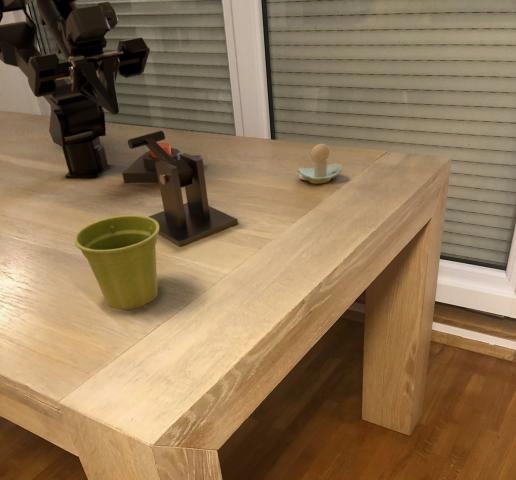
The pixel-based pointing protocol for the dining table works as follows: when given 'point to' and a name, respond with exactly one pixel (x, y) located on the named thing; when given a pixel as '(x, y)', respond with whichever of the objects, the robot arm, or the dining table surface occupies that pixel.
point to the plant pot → (122, 258)
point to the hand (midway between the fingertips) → (116, 112)
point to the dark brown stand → (187, 205)
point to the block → (147, 168)
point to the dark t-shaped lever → (163, 155)
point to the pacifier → (320, 166)
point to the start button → (165, 146)
